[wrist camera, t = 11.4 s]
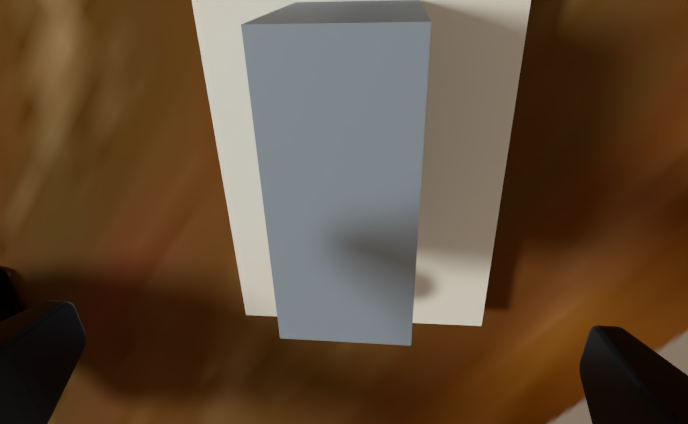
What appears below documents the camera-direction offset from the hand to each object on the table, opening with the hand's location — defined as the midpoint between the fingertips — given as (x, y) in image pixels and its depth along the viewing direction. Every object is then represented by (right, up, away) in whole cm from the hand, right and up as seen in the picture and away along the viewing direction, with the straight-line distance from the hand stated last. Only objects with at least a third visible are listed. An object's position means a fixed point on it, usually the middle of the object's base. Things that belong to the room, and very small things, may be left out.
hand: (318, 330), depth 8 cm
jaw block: (+1, +5, +9) cm, 10 cm away
